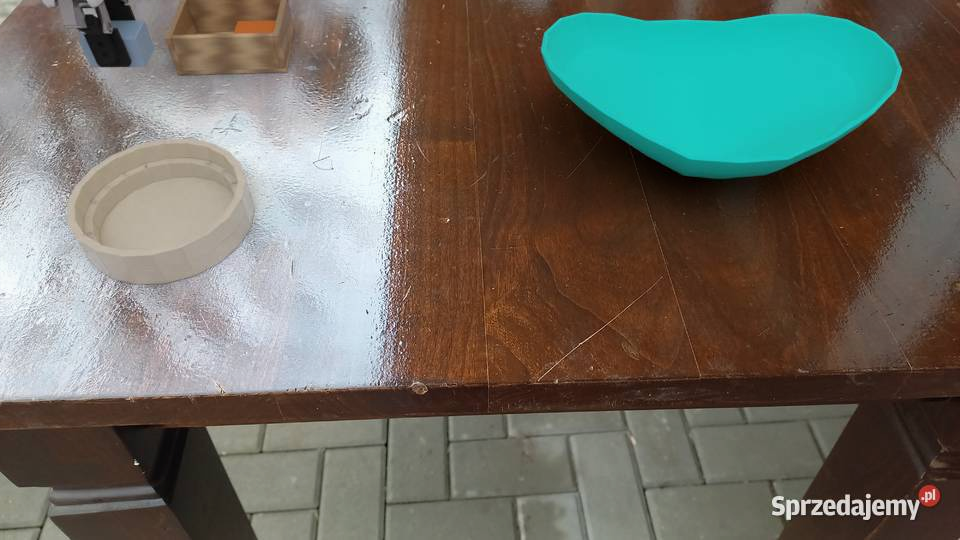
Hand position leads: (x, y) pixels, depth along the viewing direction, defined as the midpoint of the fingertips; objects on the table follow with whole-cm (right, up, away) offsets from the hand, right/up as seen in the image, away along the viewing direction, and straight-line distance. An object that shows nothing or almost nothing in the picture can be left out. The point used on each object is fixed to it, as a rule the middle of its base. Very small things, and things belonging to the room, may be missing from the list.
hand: (121, 52), depth 71 cm
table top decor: (+63, -7, +16) cm, 65 cm away
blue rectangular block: (0, 0, 0) cm, 1 cm away
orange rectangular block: (+6, +9, +27) cm, 29 cm away
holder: (+3, +8, +27) cm, 29 cm away
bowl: (+3, -17, +5) cm, 18 cm away
